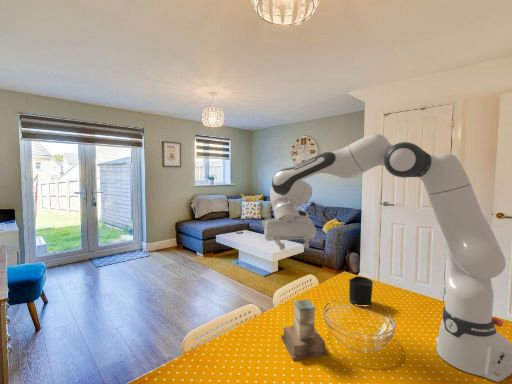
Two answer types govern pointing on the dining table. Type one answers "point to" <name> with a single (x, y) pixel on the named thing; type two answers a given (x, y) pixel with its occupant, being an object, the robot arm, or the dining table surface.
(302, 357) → the plinth
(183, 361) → the dining table surface
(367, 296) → the pen holder
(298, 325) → the grey rectangular block
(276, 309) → the dining table surface
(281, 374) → the dining table surface
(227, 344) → the dining table surface
